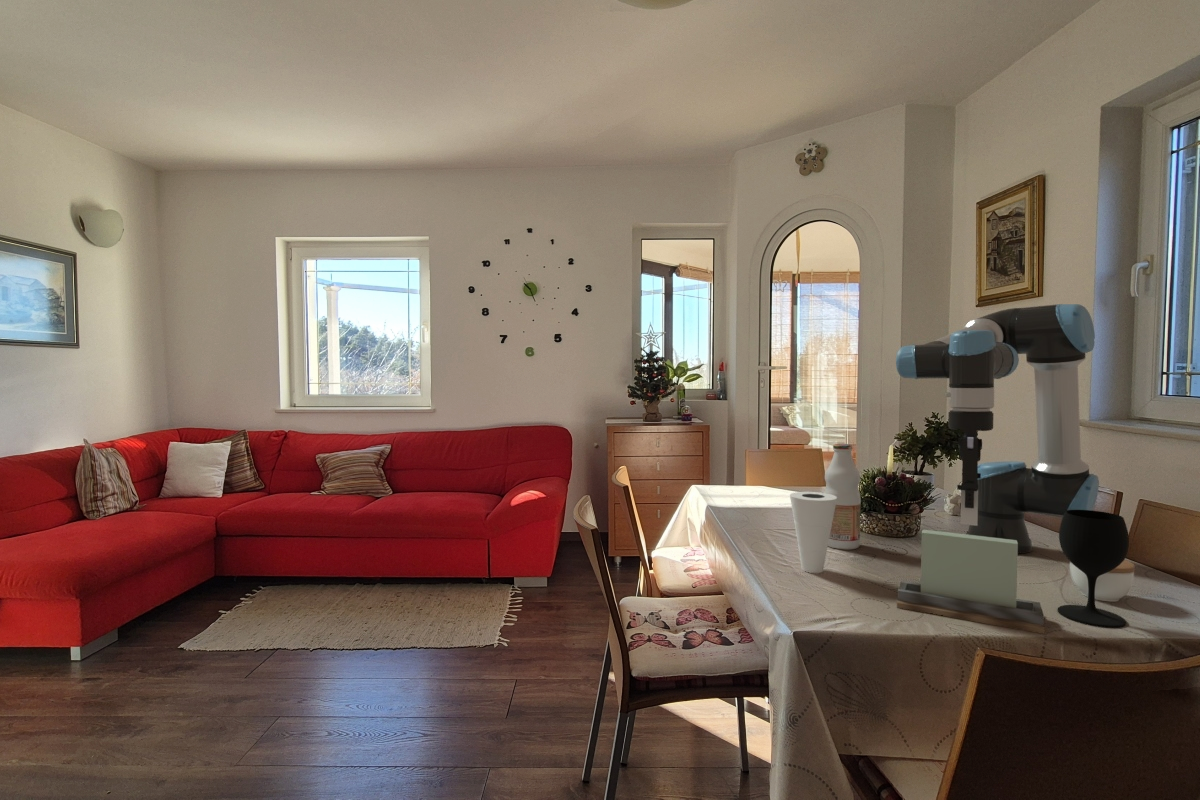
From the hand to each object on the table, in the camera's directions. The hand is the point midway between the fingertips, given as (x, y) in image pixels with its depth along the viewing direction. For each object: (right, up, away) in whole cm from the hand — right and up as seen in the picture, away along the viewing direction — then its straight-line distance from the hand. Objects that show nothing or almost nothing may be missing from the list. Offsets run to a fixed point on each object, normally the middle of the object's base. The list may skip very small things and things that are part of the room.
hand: (968, 517), depth 119 cm
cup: (-22, -18, +26) cm, 39 cm away
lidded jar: (+33, -19, +8) cm, 39 cm away
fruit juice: (-6, -17, +47) cm, 51 cm away
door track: (0, -19, +1) cm, 19 cm away
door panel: (0, -18, +1) cm, 18 cm away
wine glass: (+22, -19, -2) cm, 29 cm away
